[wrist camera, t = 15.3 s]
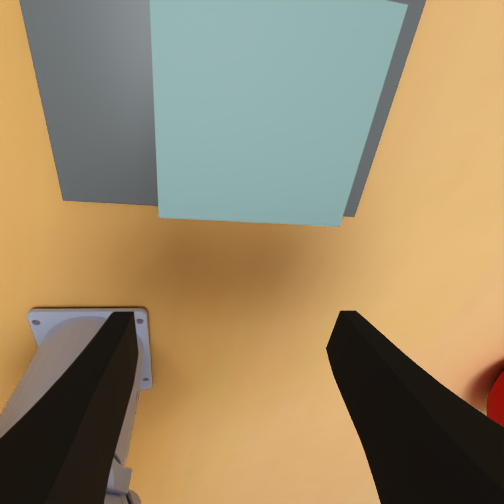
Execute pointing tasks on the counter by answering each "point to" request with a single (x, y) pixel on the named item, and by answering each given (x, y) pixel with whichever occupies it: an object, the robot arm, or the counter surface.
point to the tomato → (496, 401)
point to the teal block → (265, 104)
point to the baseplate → (131, 96)
